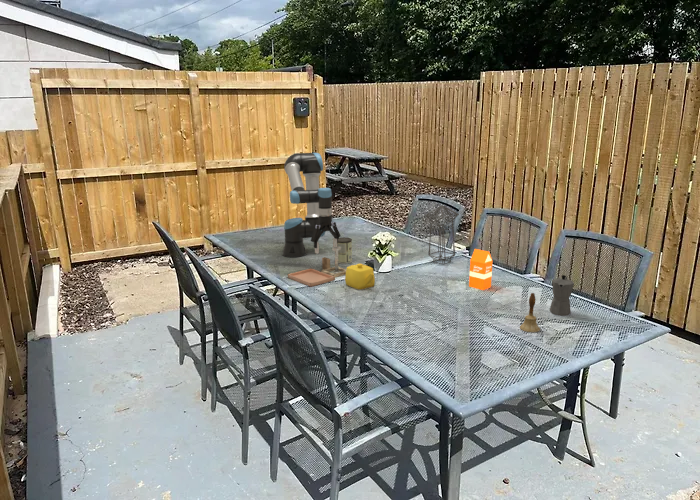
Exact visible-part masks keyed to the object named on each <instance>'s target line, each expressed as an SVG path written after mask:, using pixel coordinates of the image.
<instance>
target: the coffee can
mask: <svg viewBox="0 0 700 500" xmlns="http://www.w3.org/2000/svg"><path fill="white" fill-rule="evenodd" d="M352 242H353V239H352V238H350V237H339V239H338V244H337V247H339V246H340V247H341V249H340V250H338V264H350V263H352V262H353V252H352V249H353V246H352V245H353V243H352Z"/></svg>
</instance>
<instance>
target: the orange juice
mask: <svg viewBox="0 0 700 500" xmlns="http://www.w3.org/2000/svg"><path fill="white" fill-rule="evenodd" d="M469 263H470V264H469V279H468V281H469V282H468V287H470V288H473V289H477V290H481V291H485V290H488V289H489V288H491V287H492V278H493V277H492V276H493V259H492V256H491V253H490V251H487V250H482V249H478V248H474V250H473V252H472V255H471V257H470V260H469Z"/></svg>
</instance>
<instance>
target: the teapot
mask: <svg viewBox="0 0 700 500" xmlns="http://www.w3.org/2000/svg"><path fill="white" fill-rule="evenodd" d="M345 269H346V275H344V277H345V278H344V280H345V285H347V286H348V287H350V288H352V289H355V290H359V291H361V290H365V289H369V288H372V287H374V286H375V284H376V278H375V272H374V268H373V267H371V266H370V265H369V266H368V265H366V264H363V263H357V264H353V265H352V264H351V265H348V266H347V267H346V268H345Z"/></svg>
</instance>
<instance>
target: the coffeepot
mask: <svg viewBox="0 0 700 500" xmlns="http://www.w3.org/2000/svg"><path fill="white" fill-rule="evenodd" d="M551 281H552V282H551V284H552V294H553V297H552V300H551V303H550V308H549V312H550V313H551V314H553V315H555V316H561V317H566V316H570V315H571V314H572V313H571V312H572V311H571V301H570V297H571V296H572V293H573V292H572V291H573V289H574V286H575V282H573V280H571V279H568V276H566V275H565V274H562V275H561V278H554V279H552V280H551Z"/></svg>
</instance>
